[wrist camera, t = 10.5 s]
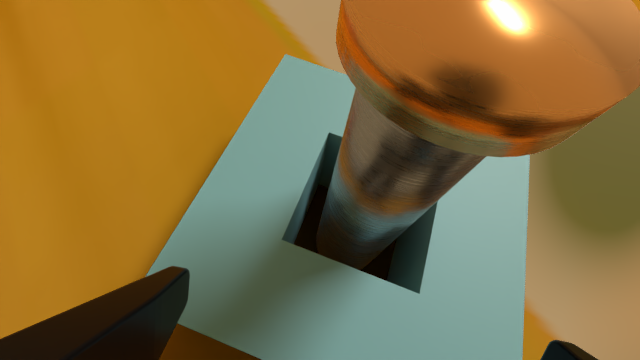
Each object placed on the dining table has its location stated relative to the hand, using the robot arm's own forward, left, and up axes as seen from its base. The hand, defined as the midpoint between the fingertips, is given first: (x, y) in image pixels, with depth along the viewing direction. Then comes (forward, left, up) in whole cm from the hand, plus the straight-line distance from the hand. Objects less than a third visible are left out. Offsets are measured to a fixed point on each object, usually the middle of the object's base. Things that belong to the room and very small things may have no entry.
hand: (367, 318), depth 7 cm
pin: (+4, +1, -7) cm, 9 cm away
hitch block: (+4, +1, -7) cm, 8 cm away
